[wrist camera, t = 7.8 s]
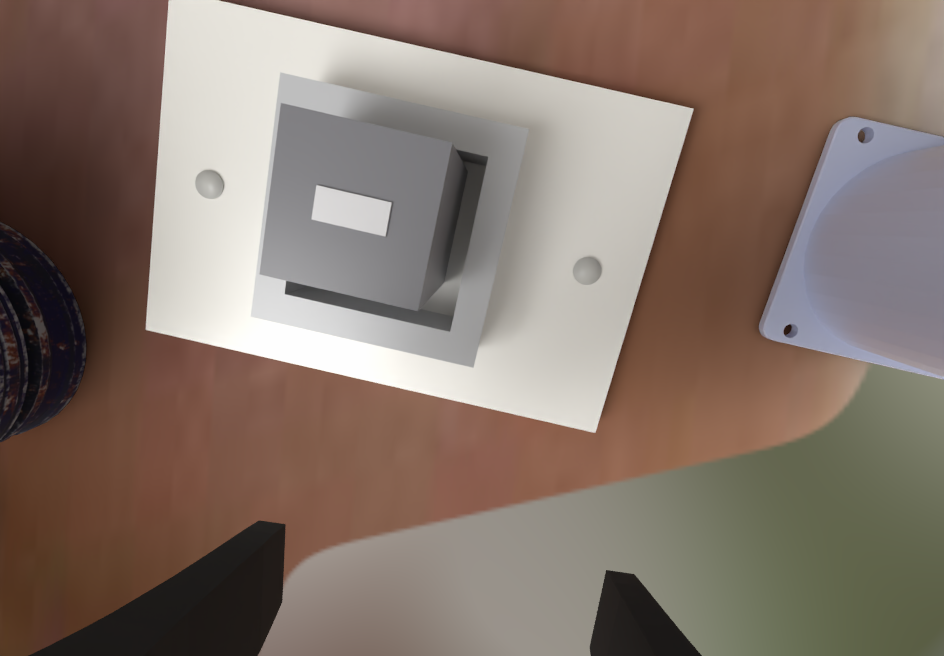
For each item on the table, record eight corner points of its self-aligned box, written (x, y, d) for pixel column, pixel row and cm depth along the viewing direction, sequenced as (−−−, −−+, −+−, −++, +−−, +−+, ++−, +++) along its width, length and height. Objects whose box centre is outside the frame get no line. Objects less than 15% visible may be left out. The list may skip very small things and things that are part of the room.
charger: (467, 171, 17) (452, 141, 11) (444, 282, 17) (417, 312, 12) (356, 145, 17) (279, 102, 11) (338, 257, 17) (257, 274, 12)
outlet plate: (682, 115, 17) (729, 87, 13) (590, 422, 19) (610, 464, 16) (188, 2, 17) (109, -54, 13) (163, 324, 19) (92, 345, 16)
